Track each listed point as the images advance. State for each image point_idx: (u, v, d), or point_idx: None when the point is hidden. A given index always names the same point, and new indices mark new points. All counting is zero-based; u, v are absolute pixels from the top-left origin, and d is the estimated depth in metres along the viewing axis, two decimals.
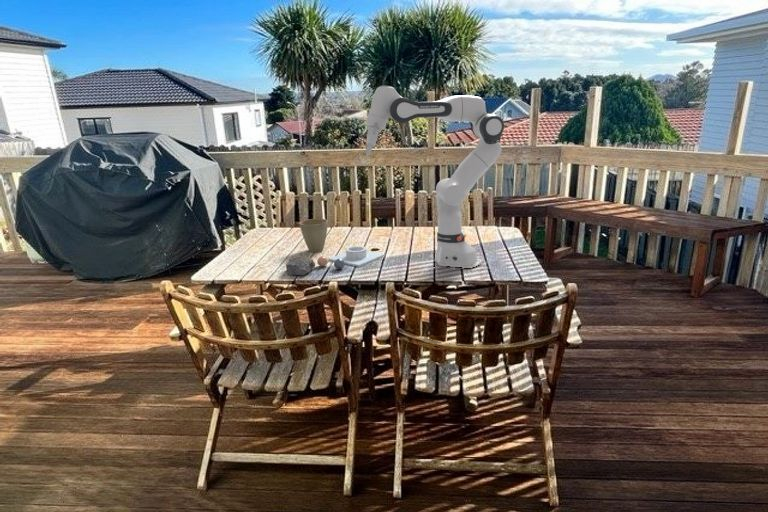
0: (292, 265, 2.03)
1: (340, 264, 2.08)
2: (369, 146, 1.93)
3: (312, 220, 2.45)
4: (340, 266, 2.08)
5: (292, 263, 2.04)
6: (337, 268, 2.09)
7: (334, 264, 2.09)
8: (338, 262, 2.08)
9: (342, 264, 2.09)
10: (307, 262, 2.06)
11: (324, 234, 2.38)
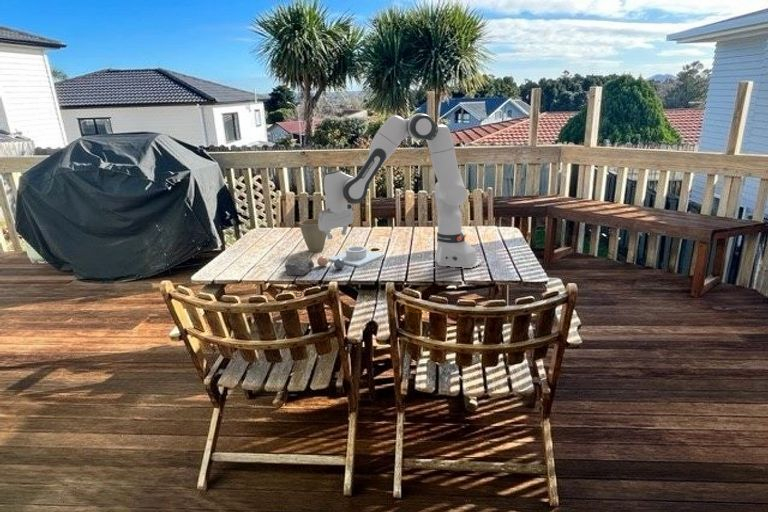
0: (291, 265, 2.03)
1: (340, 264, 2.08)
2: (326, 231, 2.01)
3: (312, 220, 2.45)
4: (340, 266, 2.08)
5: (291, 263, 2.04)
6: (337, 268, 2.09)
7: (334, 264, 2.09)
8: (338, 262, 2.08)
9: (342, 264, 2.09)
10: (306, 262, 2.06)
11: (324, 234, 2.38)
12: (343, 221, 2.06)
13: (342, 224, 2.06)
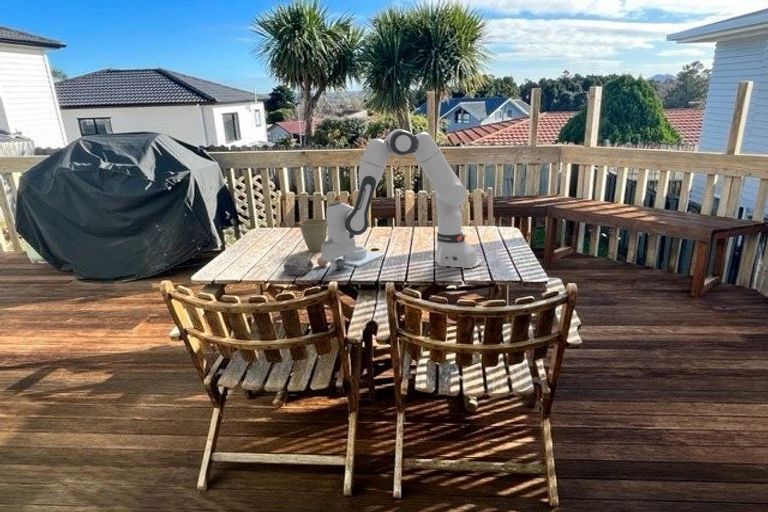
0: (290, 265, 2.03)
1: (340, 264, 2.08)
2: (331, 260, 2.06)
3: (312, 220, 2.45)
4: (340, 266, 2.08)
5: (290, 263, 2.04)
6: (337, 268, 2.09)
7: None
8: (338, 262, 2.08)
9: (342, 264, 2.09)
10: (305, 262, 2.06)
11: (324, 234, 2.38)
12: (345, 250, 2.10)
13: (344, 253, 2.10)
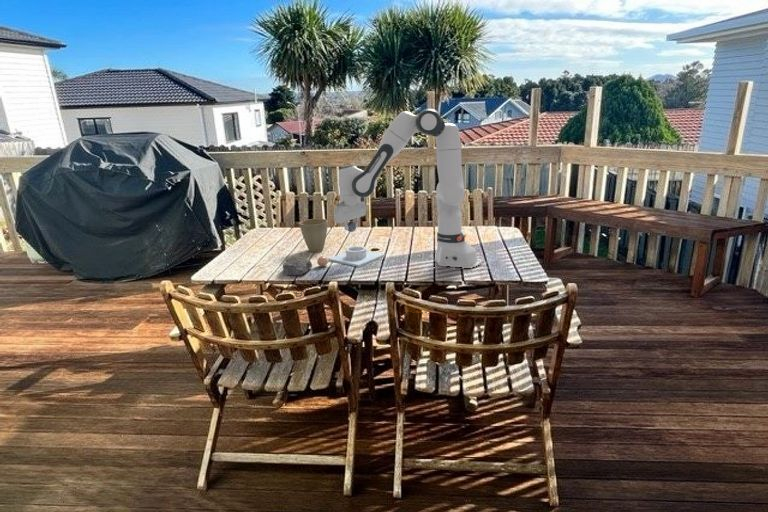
0: (289, 265, 2.03)
1: (352, 227, 2.15)
2: (343, 222, 2.13)
3: (312, 220, 2.45)
4: (352, 228, 2.15)
5: (289, 263, 2.04)
6: (349, 230, 2.16)
7: None
8: (350, 224, 2.15)
9: (354, 226, 2.16)
10: (304, 262, 2.06)
11: (324, 234, 2.38)
12: (356, 213, 2.17)
13: (356, 216, 2.17)
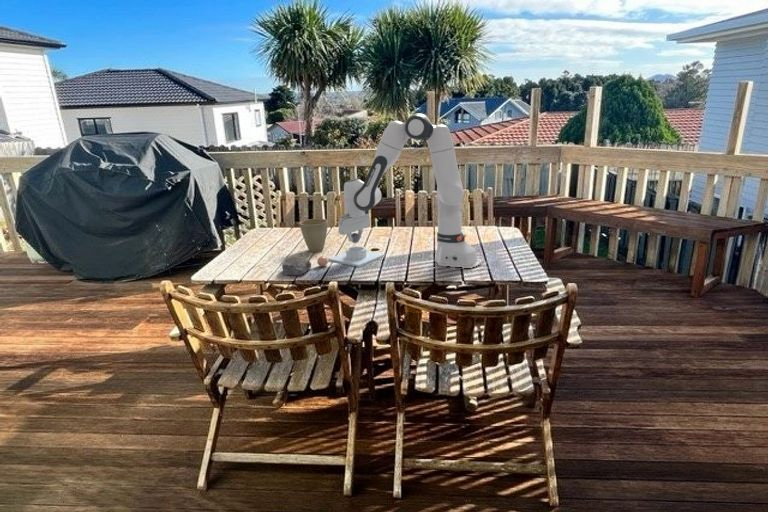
0: (288, 265, 2.03)
1: (356, 238, 2.21)
2: (347, 234, 2.19)
3: (312, 220, 2.45)
4: (356, 240, 2.21)
5: (288, 263, 2.04)
6: (353, 242, 2.22)
7: None
8: (354, 236, 2.21)
9: (358, 238, 2.22)
10: (303, 262, 2.06)
11: (324, 234, 2.38)
12: (360, 225, 2.22)
13: (360, 228, 2.22)
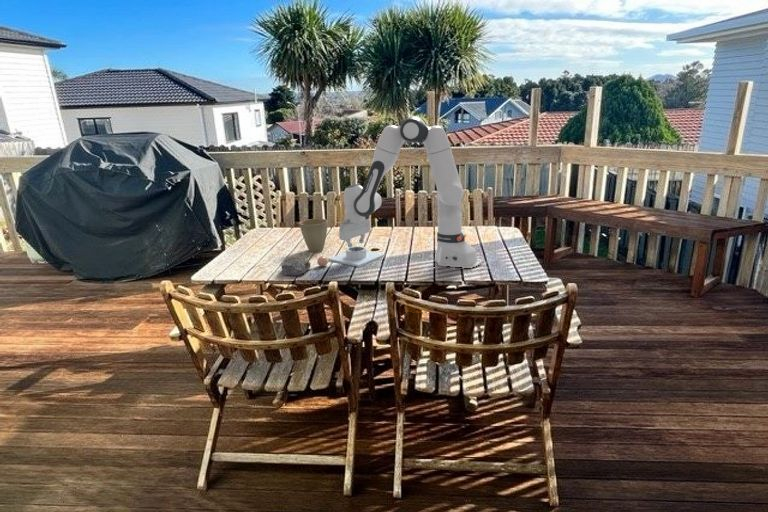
0: (288, 265, 2.03)
1: None
2: (346, 240, 2.19)
3: (312, 220, 2.45)
4: None
5: (288, 263, 2.04)
6: None
7: None
8: (355, 249, 2.23)
9: None
10: (303, 262, 2.06)
11: (324, 234, 2.38)
12: (361, 230, 2.23)
13: (360, 233, 2.23)
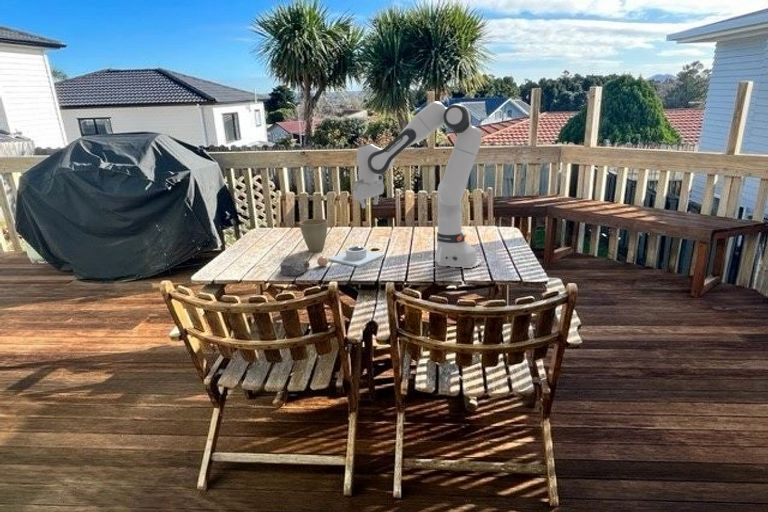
0: (287, 266, 2.03)
1: (359, 250, 2.24)
2: (360, 200, 2.17)
3: (312, 220, 2.45)
4: None
5: (287, 264, 2.04)
6: None
7: (353, 249, 2.25)
8: (358, 247, 2.25)
9: None
10: (302, 262, 2.06)
11: (324, 234, 2.38)
12: (375, 191, 2.22)
13: (374, 194, 2.21)
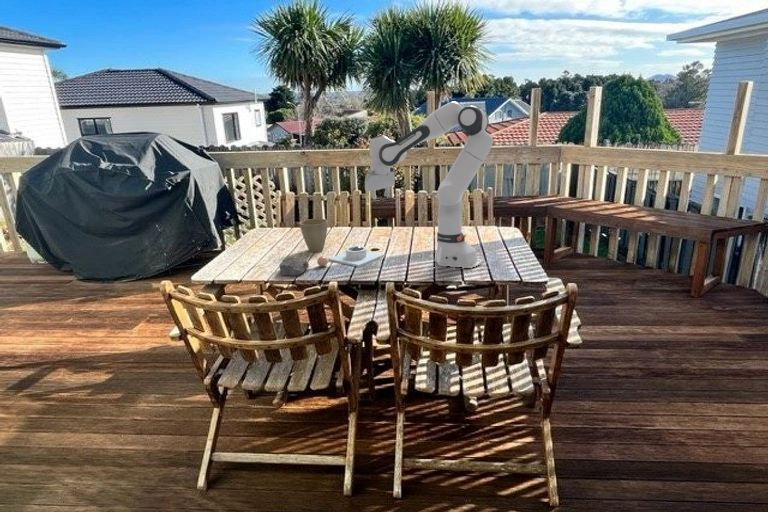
0: (286, 265, 2.03)
1: (359, 250, 2.24)
2: (371, 191, 2.19)
3: (312, 220, 2.45)
4: None
5: (286, 263, 2.04)
6: None
7: (353, 249, 2.25)
8: (358, 247, 2.25)
9: None
10: (301, 262, 2.06)
11: (324, 234, 2.38)
12: (386, 183, 2.24)
13: (385, 186, 2.24)
